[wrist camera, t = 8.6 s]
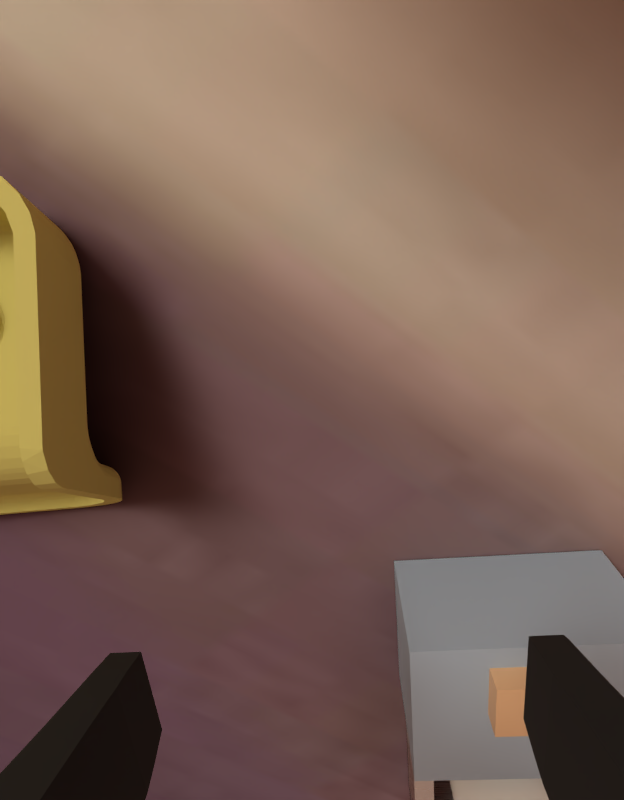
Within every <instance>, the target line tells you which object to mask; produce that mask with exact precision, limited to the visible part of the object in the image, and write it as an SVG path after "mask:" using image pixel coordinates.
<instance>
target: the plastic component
mask: <svg viewBox="0 0 624 800" xmlns="http://www.w3.org/2000/svg"><path fill="white" fill-rule="evenodd" d="M121 500H122V487H121V479H120V476H119V475H118V473H117V472H116V471H115V470H114V469H113V468H111V467H109V466H106V465H103V464H100V463H99V462H98V461H97V459H96V458H95V455H94V452H93V449H92V447H91V443H90V439H89V435H88V425H87V406H86V382H85V358H84V333H83V309H82V285H81V271H80V265H79V261H78V258H77V254H76V252H75V250H74V248H73V246H72V244H71V242H70V241H69V239H68V238H67V237H66V235H65V234H64V233H63V232H62V230H61V229H60V228H59V227H57V226H56V225H55V224H54V223H53V222H52V221H51V220H50V219H49V218H47V217H46V216H45V215H44V214H43V213H42V212H41V211H40V210H39V209H37V208H36V207H35V206H34V205H33V204H32V203H31V202H30V201H28V200H27V199H26V198H25V197H24V196H23V195H22V194H21V193H20V192H18V191H17V190H16V189H15V188H14V187H13V186H12V185H11V184H10V183H8V182H7V181H6V180H5V179H4V178H3V177H1V176H0V515H3V514H15V513H26V512H38V511H49V510H61V509H72V508H84V507H93V506H101V505H107V504H113V503H117V502H120V501H121Z"/></svg>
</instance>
